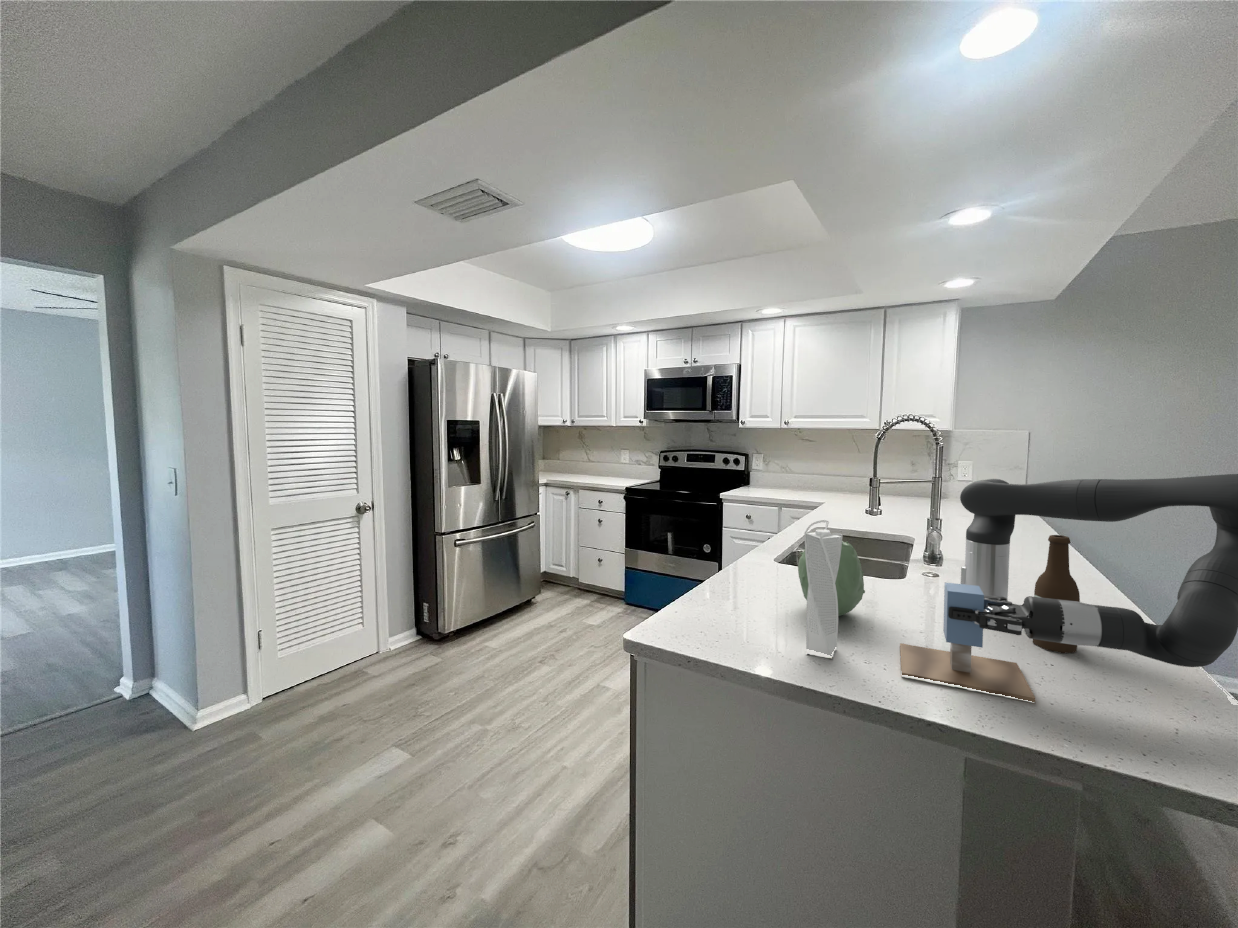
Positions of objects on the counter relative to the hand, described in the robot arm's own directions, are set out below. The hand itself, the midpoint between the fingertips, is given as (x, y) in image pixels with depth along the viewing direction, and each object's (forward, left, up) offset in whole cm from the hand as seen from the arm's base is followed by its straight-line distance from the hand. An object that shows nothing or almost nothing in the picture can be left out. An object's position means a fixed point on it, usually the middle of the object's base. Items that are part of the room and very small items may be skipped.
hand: (947, 606), depth 96 cm
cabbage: (-31, +4, -13) cm, 34 cm away
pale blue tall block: (+2, +1, -6) cm, 7 cm away
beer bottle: (+5, +30, -13) cm, 33 cm away
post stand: (+2, +1, -13) cm, 13 cm away
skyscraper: (-17, -15, -13) cm, 26 cm away
